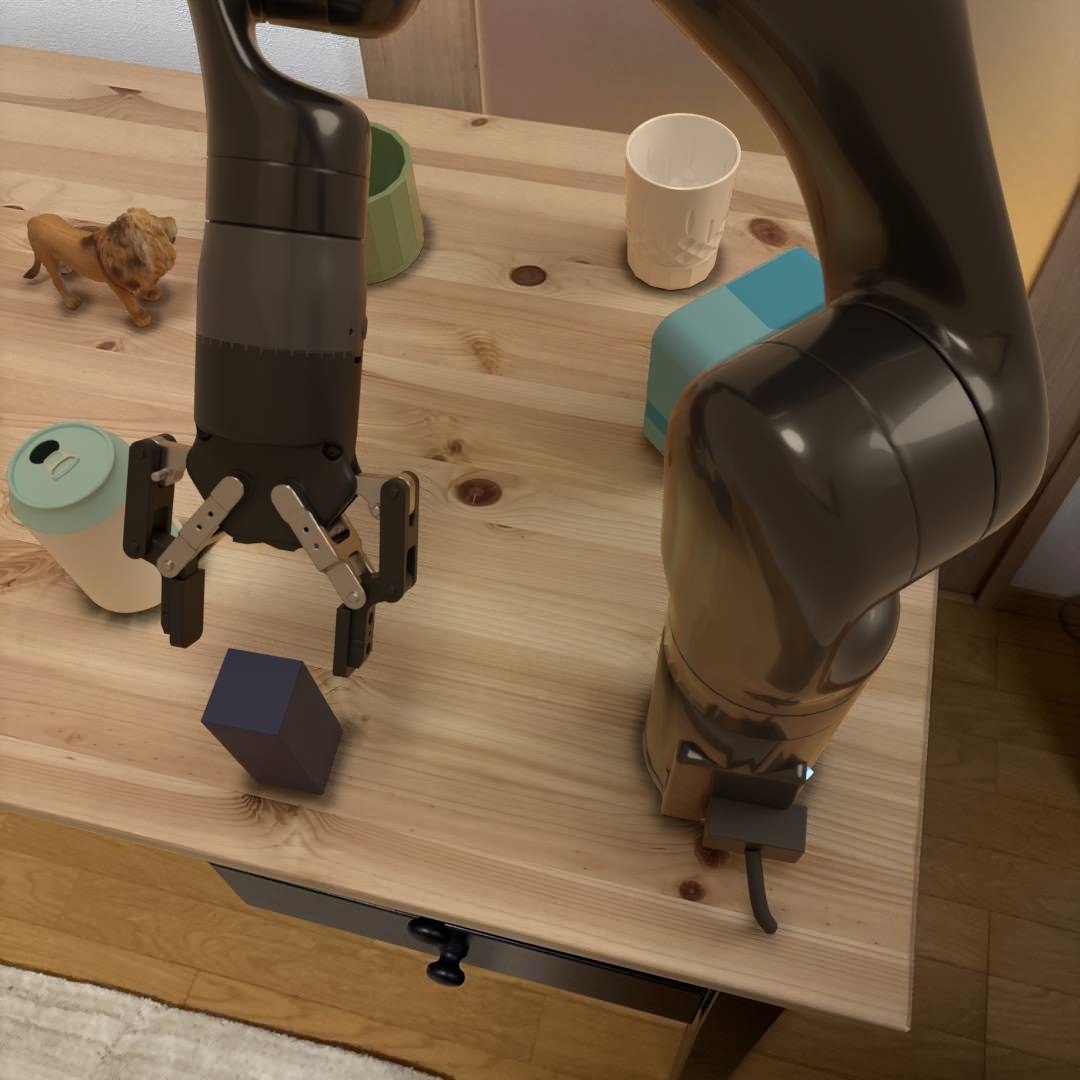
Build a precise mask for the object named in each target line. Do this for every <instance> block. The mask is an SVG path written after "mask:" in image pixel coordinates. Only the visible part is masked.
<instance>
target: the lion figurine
mask: <svg viewBox="0 0 1080 1080" xmlns="http://www.w3.org/2000/svg"><path fill="white" fill-rule="evenodd" d="M176 222H177V220H176V219H175V218H174V217H173V216H164V217H163V216H162V217H161V216H160V217H159V216H157V215H155V214H151V213H150V212H149V211H147V208H144V207H140V208H138V207H133V206H132V207H129V208H127V210H126V212H123V213H121V215H118V216H116V220H114V221H112V222H110V223H109V225H107V226H105V227H103V228H102V229H99V230H95V231H89V230H83V229H81V228H78V227H76V226H72V224H69V223H68V222H67V221H66V220H65V219H64V218H63V217H62V216H60V215H58V214H56V213H42V214H40V215H37V216H36V215H35V216H31V217H30V218H29V219H28V221H27V223H26V227H27V239H28V242H29V245H30V247H31V249H32V251H33V255H34V260H33V265H32V267H31V268H29V269H28V270H27V271H26V272H25V274H23V276H22V277H23V279H27V280H34V279H35V278H36V277H37V276H38V275H39V273H40V271H41V266H43V267H44V268H45V269H46V271H47V273H48V274H49V276H50V278H51V280H52V285H53V286H54V287H55V289H56V290H57V291H58V293H59V295H60V297H61V299H62V301H63V303H64V305H65V306H66V308H68V309H70V310H72V309H73V310H74V309H76V308H78V306H80V305H81V303H82V300H81V298H80V296H79V295H77V294H76V293H73V292H72V291H71V290H70V289H69V288H68V286H67V284H66V282H65V280H64V278H63V276H62V274H70V273H72V272H73V271H75V272H76V273H77V274H79V275H80V276H82V277H83V278H86V279H88V280H91V281H93V282H96V283H101V284H107V285H108V287H109V288H110V289H111V291H112V292H113V293H114V294H115V295H116V297H117V298H118V300H119V301H120V302H121V304H122V306H124V308H125V309H126V311H127V312H128V314H129V316H130V318H131V319H132V322H133V323H134V325H136V326H137V327H139V328H144V327H146V326H148V325H150V323H151V320H152V317H151V315H150V314H149V313H147V312H146V310H145V309H144V308H143V307H142V306H141V305H139V303H138V300H137V297H136V295H135V292H139V294H140V296H141V297H142V298H143V299H145V300H147V301H154V302H155V301H158V300H159V299H161V298H162V292H163V291H162V290H161V288H160V287H159V286H156V285H157V284H158V282H159V281H160V279H161V278H163V277H164V276H165V275H166V274H167V273H168V272H170V271H172V269H173V268H174V266H175V265H176V260H177V249H176V248H175V247H174V245H175V244H176V243H177V238H176V237H177V235H178V234H179V233H178V232H179V231H178V226H177V223H176Z"/></svg>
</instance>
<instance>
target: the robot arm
mask: <svg viewBox="0 0 1080 1080" xmlns="http://www.w3.org/2000/svg"><path fill="white" fill-rule="evenodd" d="M421 1H422V0H186V3H187V7H188V11H189V16H190V20H191V23H192V29H193V33H194V38H195V43H196V48H197V53H198V61H199V65H200V72H201V77H202V79H201V80H202V85H203V95H204V105H205V119H206V157H207V158H206V168H205V169H206V171H205V172H206V175H205V178H206V179H205V206H204V207H205V208H204V218H205V220H206V221H205V222H204V229H203V236H202V237H203V238H202V245H201V251H200V256H199V262H198V267H197V268H198V270H197V281H196V282H197V283H196V314H195V316H196V318H195V350H194V353H195V354H194V355H195V356H194V385H193V386H194V391H193V394H194V395H193V420H194V424H195V430H196V435H195V437H194V438H195V439H194V441H193V443H192V445H190V444H187V443H186V444H185V443H181V442H178V441H177V439H176V437H174V436H173V435H172V434H170V433H166V432H165V433H160V434H157V435H153V436H149V437H145V438H142V439H139V440H136V441H133V442H132V443H131V444H130V445H129V446H130V448H129V457H128V472H127V487H126V502H125V517H124V532H123V550H124V552H125V554H126V555H127V556H128V557H129V558H132V559H140V558H142V559H144V560H145V561H147V562H149V563H151V564H153V565H154V566H155V567H156V568H157V569H158V571H159V572H160V574H161V580H162V581H161V603H160V605H161V606H160V626H161V630H162V631H163V634H164V635H169V645H170V646H171V647H175V648H179V649H184V650H185V649H188V648H189V647H191V646H192V645H194V644H195V643H196V642H197V641H199V640H200V639H201V638H202V636H203V632H204V623H205V621H204V619H205V617H204V616H205V586H206V585H205V583H206V569H205V568H201V567H199V564H200V563H201V562H202V561H203V560H204V559H205V557H206V556H207V555H208V554H209V553H210V551H212V549H213V548H214V547H215V546H216V545H217V544H218V543H219V542H220V541H221V540H222V539H223V538H225V536H226V535H227V536H229V537H231V538H232V543H237V544H242V545H254V544H266V545H267V546H270V547H272V548H275V549H277V550H279V551H280V550H281V551H285V552H291V553H294V552H296V551H297V550H299V549H304V551H305V552H306V554H307V556H308V557H309V559H310V560H311V562H312V564H313V565H314V567H315V569H317V571H319V572H320V573H324V575H326V577H327V579H328V580H329V582H330V584H331V585H332V587H333V588H334V590H335V592H336V593H337V595H338V596H339V598H340V600H341V602H342V603H341V604H340V605H338V607H336V613H335V614H336V615H335V629H334V644H333V655H332V656H333V657H332V676H333V677H339V678H343V679H349V678H350V677H351V676H352V675H353V673H354V672H356V670H357V669H358V670H359V669H360V668H361V667H362V665H364V663H366V661H367V660H368V659H369V657H370V655H371V653H372V652H373V647H374V646H373V645H374V631H375V620H376V607H377V604H379V603H384V602H385V603H388V604H396V603H398V602H399V601H401V600H402V598H403V597H404V596H405V595H406V593H407V592H408V591H409V590H411V589H412V588H413V587H414V586H415V585H416V583H417V580H418V560H419V559H418V557H419V554H418V553H419V526H420V525H419V523H420V520H419V519H420V517H419V516H420V487H421V485H420V484H421V483H420V479H419V476H418V475H417V474H416V473H415V472H413V471H411V470H403V471H401V472H399V473H396V474H385V473H373V472H364V471H363V470H362V468H361V466H360V463H359V460H358V457H357V450H356V449H357V442H358V441H357V440H358V431H359V419H360V418H359V417H360V405H361V404H360V403H361V388H362V376H363V375H362V374H363V373H362V372H363V360H364V358H363V357H364V348H365V347H364V345H365V340H366V339H367V334H368V323H369V322H368V317H367V303H368V284H367V279H366V266H365V242H364V241H361V239H365V238H366V225H367V211H368V196H369V182H370V181H369V180H368V179H369V178H370V165H371V147H372V138H371V128H370V124H369V122H370V120H369V118H368V116H367V115H366V113H365V112H364V110H363V109H362V108H361V107H360V106H358V104H356V103H354V102H353V101H351V100H349V99H347V98H345V97H343V96H341V95H338V94H336V93H333V92H331V91H328V90H325V89H323V88H319V87H317V86H313V85H311V84H309V83H306V82H303V81H301V80H299V79H296V78H294V77H291V76H289V75H288V74H286V73H284V72H282V71H280V70H279V69H277V68H276V67H275V66H273V64H271V62H270V61H268V60H267V59H266V57H265V56H264V54H263V52H262V50H261V48H260V46H259V42H258V38H257V24H266V23H268V24H269V25H273V26H279V27H285V28H293V29H298V30H305V31H311V32H317V33H323V34H331V35H336V36H341V37H348V38H353V39H354V38H355V39H362V40H379V39H384V38H386V37H390V36H391V35H392V34H394V33H396V32H398V31H399V30H400V29H401V28H402V27H403V26H405V25H406V24H407V23H408V22H409V20H410V19H411V17H412V16H413V15H414V14H415V12H416V10H417V9H418V7H419V5H420V3H421ZM650 2H652V4H653V5H655V7H656V8H657V9H658V10H659V11H660V12H661V13H662V14H663V15H664V16H665V17H666V18H667V19H668V20H669V21H670V23H672V24H673V25H674V26H675V27H676V29H678V30H679V31H680V33H682V34H683V35H684V36H685V37H686V38H687V40H688V41H690V43H692V45H694V46H695V47H696V48H697V49H698V50H699V51H700V52H701V53H702V54H703V56H704V57H706V58H707V60H709V61H710V62H711V63H712V64H713V66H714V67H716V68H717V70H719V72H720V73H722V74H723V75H724V76H725V77H726V78H727V79H728V80H729V82H730V83H731V84H732V85H733V86H734V88H736V90H737V91H738V92H739V93H740V94H741V95H742V96H743V97H744V98H745V99H746V101H748V103H750V105H752V107H753V109H754V110H755V111H756V112H757V114H758V115H759V117H760V118H761V119H762V121H763V122H764V123H765V125H766V127H767V128H768V129H769V131H770V132H771V134H772V135H773V137H774V138H775V141H776V142H777V143H778V145H779V147H780V149H781V150H782V152H783V155H784V156H785V158H786V161H787V163H788V165H789V167H790V170H791V172H792V173H793V176H794V178H795V181H796V184H797V187H798V190H799V193H800V196H801V198H802V201H803V203H804V206H805V210H806V213H807V217H808V221H809V224H810V228H811V231H812V234H813V239H814V243H815V247H816V251H817V255H818V260H819V261H820V266H821V272H822V278H823V287H824V309H822V310H820V311H819V312H817V313H815V314H813V315H811V316H809V317H807V318H805V319H803V320H801V321H799V322H797V323H795V324H793V325H791V326H790V327H788V328H786V329H784V330H782V331H780V332H778V333H776V334H774V335H772V336H770V337H768V338H766V339H764V340H762V341H761V342H759V343H757V344H755V345H753V346H751V347H749V348H747V349H745V350H743V351H741V352H739V353H737V354H736V355H734V356H732V357H730V358H728V359H726V360H724V361H722V362H720V363H719V364H717V365H715V366H713V367H711V368H709V369H707V370H705V371H704V372H702V373H701V374H699V375H698V376H696V377H695V378H694V379H693V380H692V381H691V382H690V383H689V384H688V385H687V387H686V388H685V389H684V390H683V392H682V393H681V395H680V397H679V398H678V400H677V402H676V404H675V406H674V409H673V411H672V414H671V418H670V421H669V425H668V430H667V435H666V443H665V455H664V456H663V457H664V458H663V486H662V487H663V488H662V489H663V490H662V508H661V509H662V510H661V511H662V512H661V513H662V514H661V527H660V528H661V529H660V553H661V559H662V567H663V572H664V576H665V581H666V582H665V583H666V587H667V591H668V594H669V595H668V596H669V597H668V602H667V608H666V611H665V612H666V613H665V619H664V624H663V628H662V632H661V633H662V634H661V640H660V644H659V650H658V655H657V660H656V661H657V662H656V667H655V673H654V678H653V683H652V690H651V695H650V700H649V707H648V711H647V714H646V716H645V721H644V726H643V733H642V749H643V751H642V752H643V757H644V761H645V765H646V768H647V771H648V773H649V776H650V778H651V780H652V781H653V783H654V785H655V786H656V787H657V790H658V791H659V792H660V793H661V806H660V807H661V808H660V810H661V811H660V812H661V813H662V814H663V815H664V816H667V817H673V818H679V819H684V820H690V821H694V822H700V823H704V828H703V836H702V843H701V844H702V845H701V846H702V847H703V848H709V849H713V850H720V851H725V852H730V853H735V854H740V855H744V860H745V869H746V870H745V871H746V877H747V878H746V879H747V887H748V888H747V889H748V895H749V901H750V905H751V906H750V907H751V911H752V915H753V918H754V920H755V922H756V923H757V924H758V925H759V927H760V928H761V930H762V931H763V932H764V933H765V934H767V935H773V934H776V932H777V931H778V929H779V928H778V922H777V920H776V919H775V917H773V915H772V913H771V911H770V907H769V903H768V899H767V893H766V887H765V878H764V869H763V859H766V860H770V861H771V860H772V861H778V862H782V863H787V864H794V865H795V864H797V862H798V861H799V860H800V859H801V858H802V856H804V854H805V852H806V843H807V826H808V811H809V808H808V806H806V805H800V804H795V803H794V802H795V801H796V799H797V797H798V796H799V794H800V793H801V791H802V790H803V789H804V787H805V785H806V784H807V780H808V779H809V778H811V776H812V775H813V774H814V771H813V770H812V768H813V767H814V765H815V764H816V762H817V761H818V759H819V757H820V756H821V755H822V753H823V752H824V750H825V749H826V747H827V745H828V744H829V743H830V741H831V740H832V739H833V736H834V735H835V733H836V732H837V731H838V728H839V727H840V726H841V724H842V723H843V721H844V720H845V719H846V717H847V715H848V714H849V712H850V711H851V709H852V708H853V707H854V705H855V703H856V702H857V700H858V699H859V698H860V696H861V695H862V693H863V692H864V690H865V689H866V687H867V686H868V684H870V681H871V680H872V678H873V677H874V675H875V674H876V672H877V671H878V669H880V666H881V665H882V664H883V662H884V660H885V659H886V657H887V656H888V654H889V652H890V650H891V649H892V646H893V643H894V641H895V638H896V636H897V632H898V628H899V623H900V618H901V595H900V594H901V593H900V592H901V591H903V590H904V589H906V588H908V587H909V586H911V585H912V584H914V583H916V582H917V581H919V580H921V579H922V578H924V577H925V576H928V575H929V574H930V573H933V572H934V571H935V570H937V569H939V568H940V567H942V566H944V565H945V564H947V563H949V562H950V561H951V560H953V559H955V558H957V557H958V556H960V555H961V554H963V553H964V552H966V551H967V550H969V549H970V548H972V547H974V546H976V545H977V544H979V543H980V542H982V541H983V540H985V539H986V538H988V537H990V536H991V535H992V534H994V533H995V532H997V531H998V530H1000V529H1001V528H1002V527H1004V526H1005V525H1006V524H1007V523H1009V522H1010V521H1011V520H1012V519H1013V518H1014V517H1015V516H1017V514H1019V512H1020V511H1021V510H1022V509H1023V508H1024V507H1025V506H1026V505H1027V504H1028V503H1029V501H1030V500H1031V499H1032V497H1033V496H1034V494H1035V492H1036V490H1037V489H1038V487H1039V485H1040V483H1041V481H1042V478H1043V475H1044V473H1045V469H1046V463H1047V458H1048V452H1049V446H1050V414H1049V413H1050V411H1049V401H1048V392H1047V383H1046V379H1045V378H1046V377H1045V371H1044V366H1043V360H1042V354H1041V349H1040V344H1039V339H1038V336H1037V331H1036V327H1035V322H1034V318H1033V313H1032V309H1031V304H1030V299H1029V296H1028V292H1027V287H1026V282H1025V278H1024V275H1023V269H1022V266H1021V262H1020V258H1019V253H1018V248H1017V244H1016V241H1015V236H1014V233H1013V228H1012V224H1011V220H1010V215H1009V211H1008V207H1007V203H1006V199H1005V195H1004V191H1003V186H1002V182H1001V181H1002V180H1001V177H1000V176H1001V175H1000V172H999V167H998V162H997V159H996V154H995V150H994V146H993V141H992V136H991V131H990V127H989V121H988V117H987V111H986V107H985V102H984V97H983V92H982V85H981V80H980V75H979V74H980V73H979V68H978V62H977V57H976V51H975V50H976V49H975V44H974V38H973V37H974V36H973V30H972V22H971V17H970V16H971V15H970V10H969V3H968V0H650ZM185 471H186V473H187V475H188V476H189V479H190V480H191V481H192V484H193V485H194V487H195V488H196V489H197V491H198V493H199V494H200V496H201V498H202V500H203V501H204V502H203V503H202V504H201V505H200V506H199V507H198V508H197V510H195V512H194V513H193V514H192V515H191V516H190V518H189V519H188V520H187V521H186V522H185V524H183V525H182V528H181V529H180V530H179V532H178V536H177V537H174V536H172V535H171V526H172V514H173V513H174V500H175V487H176V483H178V482H180V481H182V479H183V477H184V474H185ZM358 497H362V498H363V499H364V500H365V502H366V504H367V507H368V512H369V514H370V516H371V517H372V518H373V519H374V520H377V521H379V536H378V537H379V543H378V544H379V545H378V546H379V547H378V571H376V569H375V567H374V566H373V564H372V563H371V561H370V560H369V558H368V557H367V555H366V553H365V551H364V548H363V542H362V539H361V537H360V535H359V534H358V532H357V531H356V529H355V527H354V525H353V524H352V522H351V521H350V519H349V517H348V516H347V514H346V511H347V509H348V508H349V507H350V506H351V505H352V504H353V503H354V501H355V500H356V499H357V498H358Z"/></svg>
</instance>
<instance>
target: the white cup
mask: <svg viewBox="0 0 1080 1080" xmlns="http://www.w3.org/2000/svg"><path fill="white" fill-rule="evenodd" d="M624 147H625V148H624V206H625V213H624V214H625V231H626V235H627V236H626V237H627V239H626V240H627V259H626V260H627V262H626V263H627V264H628V266H629V268H630V269H631V271H632V272H633V273H632V274H634V276H635V277H636V278H637V279H640V280H641V281H643V282H644V283H645V284H647V285H648V286H651V287H654V288H659V289H663V290H668V291H673V290H682V289H688V288H689V289H690V288H691V287H693V286H695V285H697V284H699V283H701V282H702V281H703V282H704V280H706V278H707V277H708V276H709V274H710V273H711V272H712V270H713V269H714V267H715V265H716V261H717V256H718V251H719V247H720V242H721V240H722V237H723V234H724V232H725V231H724V230H725V227H726V221H727V218H728V215H729V212H730V211H729V210H730V206H731V202H732V197H733V193H734V189H735V185H736V179H737V175H738V170H739V166H740V161H741V158H742V150H741V144H740V142H739V140H738V138H737V136H736V135H735V134H734V132H733V131H732V130H731V129H729V128H728V127H727V126H726V125H724V124H723V123H721V122H720V121H718V120H716V119H713V118H711V117H708V116H705V115H701V114H696V113H691V112H690V113H688V112H687V113H686V112H675V113H666V114H662V115H658V116H655V117H652V118H650V119H648V120H646V121H644V122H642V123H640V124H639V125H638V126H636V128H634V130H633V131H632V132H631V133H630V134H629V136H628V138H627V140H626V142H625V146H624Z"/></svg>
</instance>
